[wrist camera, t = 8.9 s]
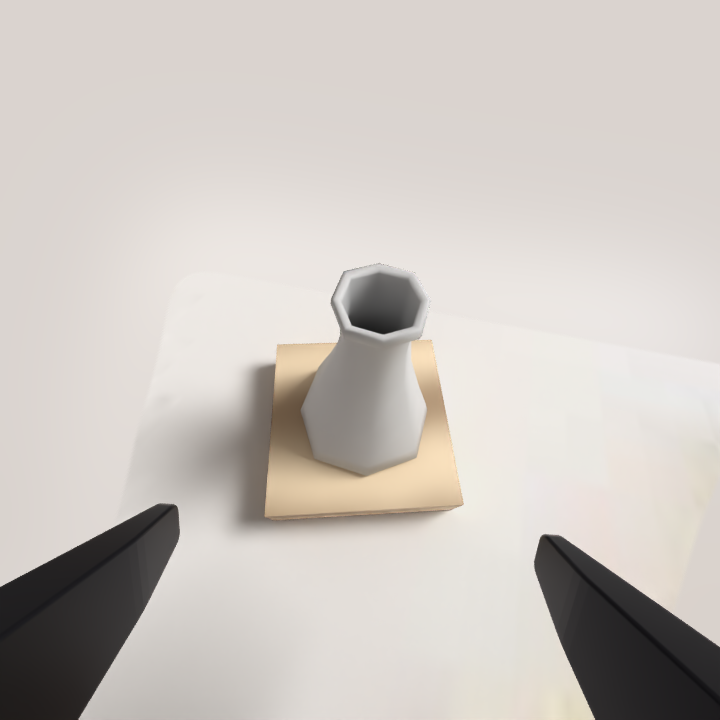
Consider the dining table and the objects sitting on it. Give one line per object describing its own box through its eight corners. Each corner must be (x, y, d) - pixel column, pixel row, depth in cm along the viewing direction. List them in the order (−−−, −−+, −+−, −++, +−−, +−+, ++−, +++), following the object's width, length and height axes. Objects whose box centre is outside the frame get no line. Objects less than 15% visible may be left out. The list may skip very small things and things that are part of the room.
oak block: (448, 510, 20) (463, 504, 17) (275, 521, 19) (264, 516, 16) (422, 362, 25) (431, 339, 22) (284, 367, 24) (277, 344, 21)
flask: (304, 356, 21) (277, 219, 12) (419, 357, 21) (472, 224, 13) (296, 478, 17) (249, 407, 9) (434, 476, 18) (522, 406, 9)
